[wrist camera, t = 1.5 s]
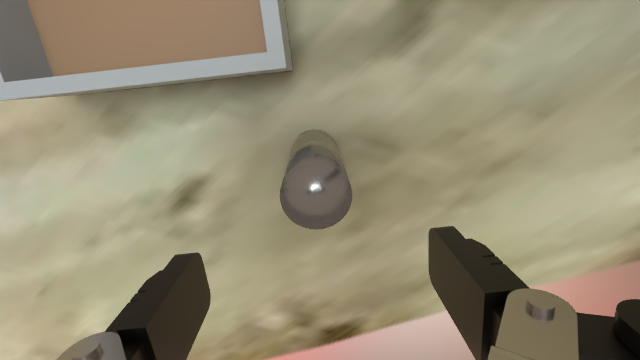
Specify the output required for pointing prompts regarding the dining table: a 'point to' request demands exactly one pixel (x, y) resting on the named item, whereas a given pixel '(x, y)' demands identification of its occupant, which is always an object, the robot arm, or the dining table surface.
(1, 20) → the bore box
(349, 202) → the peg
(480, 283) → the robot arm
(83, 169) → the dining table surface
